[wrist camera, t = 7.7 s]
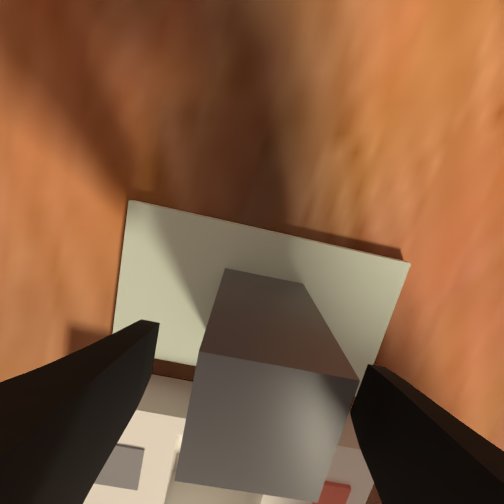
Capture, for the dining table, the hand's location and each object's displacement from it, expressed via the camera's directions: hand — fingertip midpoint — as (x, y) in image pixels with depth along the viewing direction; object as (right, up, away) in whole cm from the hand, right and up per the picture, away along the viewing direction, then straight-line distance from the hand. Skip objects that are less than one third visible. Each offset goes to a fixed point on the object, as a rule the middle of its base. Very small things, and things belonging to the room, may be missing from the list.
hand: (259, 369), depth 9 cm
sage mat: (0, +1, +5) cm, 5 cm away
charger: (0, +1, +5) cm, 5 cm away
